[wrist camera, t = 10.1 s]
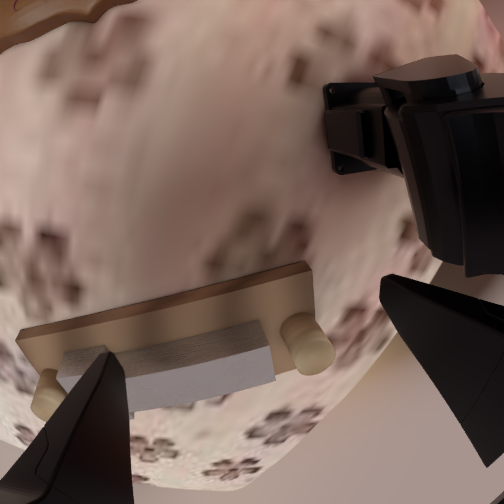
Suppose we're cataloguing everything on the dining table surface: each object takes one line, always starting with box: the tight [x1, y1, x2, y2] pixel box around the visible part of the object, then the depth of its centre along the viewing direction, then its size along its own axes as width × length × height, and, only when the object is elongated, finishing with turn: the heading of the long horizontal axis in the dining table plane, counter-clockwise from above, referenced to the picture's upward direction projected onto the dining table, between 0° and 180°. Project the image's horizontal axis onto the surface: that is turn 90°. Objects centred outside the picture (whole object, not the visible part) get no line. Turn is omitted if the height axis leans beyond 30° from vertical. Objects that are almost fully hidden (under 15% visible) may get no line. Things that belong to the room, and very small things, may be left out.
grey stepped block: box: [56, 319, 276, 420], centre depth 21 cm, size 16×6×3 cm, turn 100°
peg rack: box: [15, 261, 336, 422], centre depth 21 cm, size 25×10×6 cm, turn 100°
